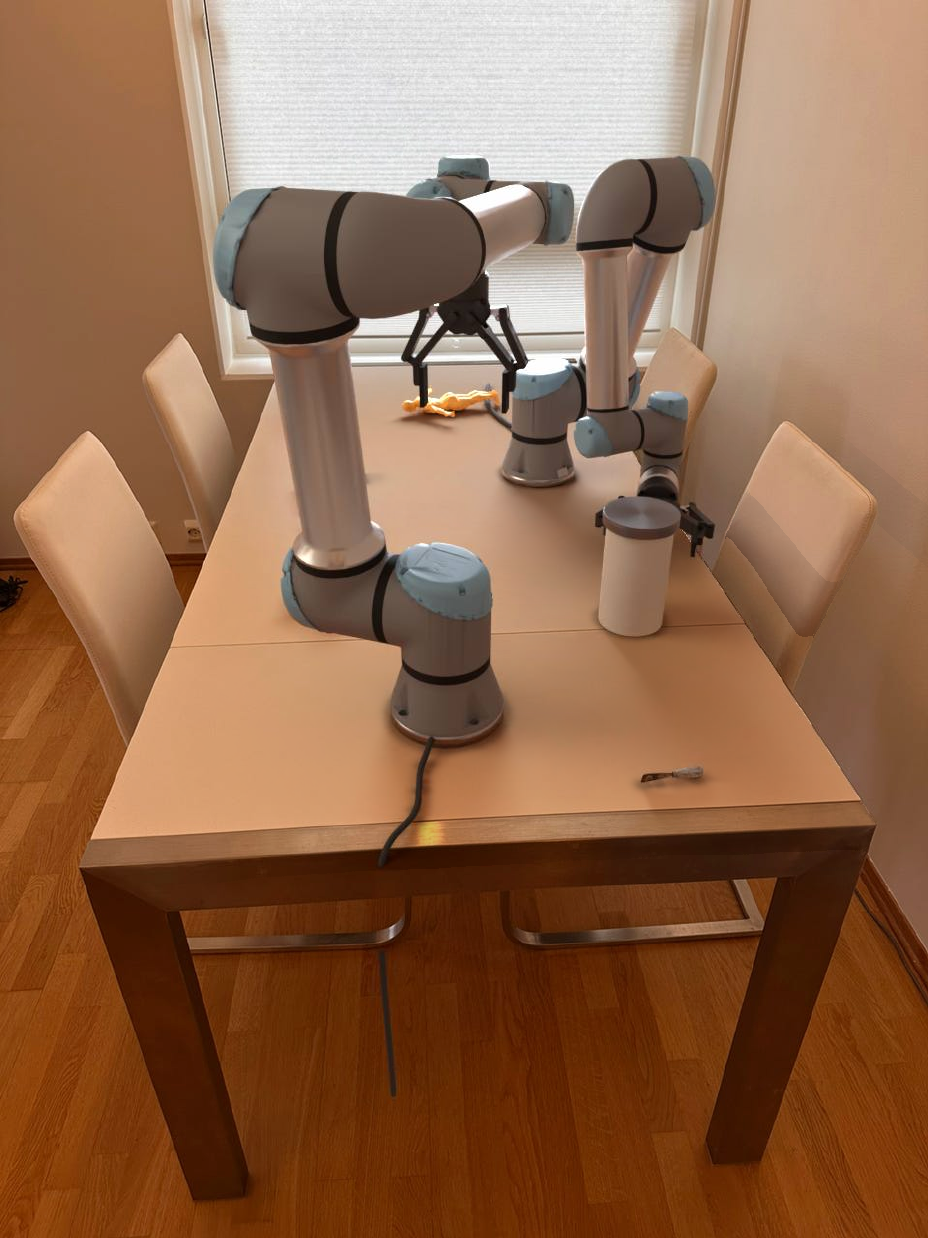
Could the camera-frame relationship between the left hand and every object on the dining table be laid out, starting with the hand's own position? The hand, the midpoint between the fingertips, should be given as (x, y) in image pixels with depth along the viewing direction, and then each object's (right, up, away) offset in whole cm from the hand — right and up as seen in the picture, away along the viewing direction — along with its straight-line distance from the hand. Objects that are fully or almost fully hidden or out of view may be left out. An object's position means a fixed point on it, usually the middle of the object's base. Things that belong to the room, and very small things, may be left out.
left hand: (464, 408), depth 146 cm
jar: (+26, -35, -5) cm, 44 cm away
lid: (+26, -19, -15) cm, 35 cm away
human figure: (-3, +18, +80) cm, 82 cm away
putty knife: (+25, -54, -37) cm, 70 cm away
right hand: (+31, -22, +2) cm, 38 cm away
